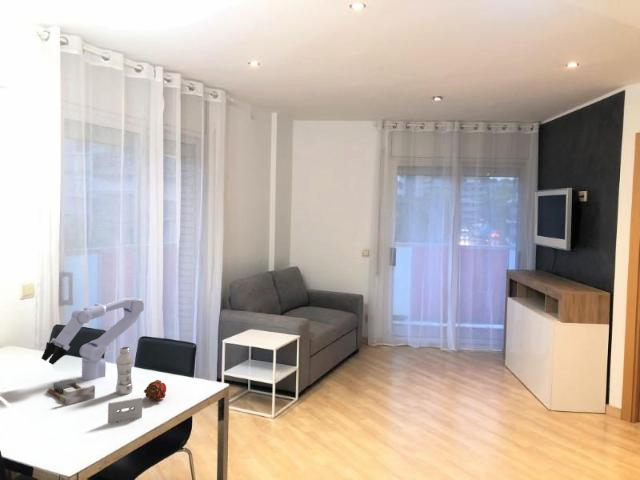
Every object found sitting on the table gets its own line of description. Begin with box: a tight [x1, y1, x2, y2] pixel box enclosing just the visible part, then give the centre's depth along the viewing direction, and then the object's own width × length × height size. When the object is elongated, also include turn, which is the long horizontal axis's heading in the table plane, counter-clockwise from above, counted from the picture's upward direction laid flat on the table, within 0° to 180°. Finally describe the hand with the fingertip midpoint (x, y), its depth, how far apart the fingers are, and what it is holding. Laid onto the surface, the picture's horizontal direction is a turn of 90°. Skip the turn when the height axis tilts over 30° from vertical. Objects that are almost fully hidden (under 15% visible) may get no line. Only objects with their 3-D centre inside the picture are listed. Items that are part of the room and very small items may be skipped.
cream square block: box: [63, 387, 75, 395], centre depth 202 cm, size 4×4×2 cm
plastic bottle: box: [115, 346, 134, 396], centre depth 206 cm, size 6×7×20 cm
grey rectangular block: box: [53, 378, 77, 394], centre depth 205 cm, size 7×5×4 cm
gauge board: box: [46, 384, 96, 406], centre depth 201 cm, size 11×20×6 cm, turn 49°
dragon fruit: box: [143, 379, 167, 402], centre depth 203 cm, size 8×8×12 cm
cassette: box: [107, 397, 143, 425], centre depth 182 cm, size 12×2×8 cm, turn 124°
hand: (47, 361), depth 207 cm, fingers open, 7 cm apart
